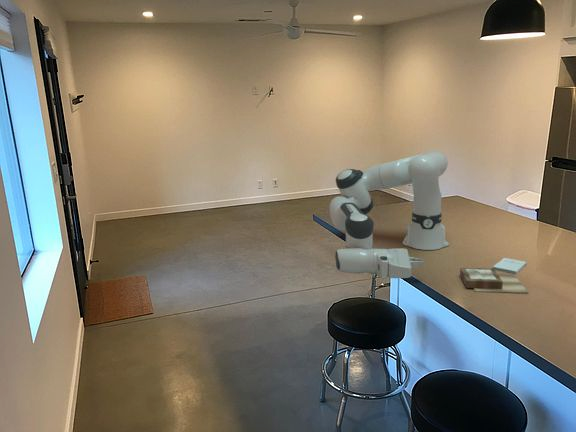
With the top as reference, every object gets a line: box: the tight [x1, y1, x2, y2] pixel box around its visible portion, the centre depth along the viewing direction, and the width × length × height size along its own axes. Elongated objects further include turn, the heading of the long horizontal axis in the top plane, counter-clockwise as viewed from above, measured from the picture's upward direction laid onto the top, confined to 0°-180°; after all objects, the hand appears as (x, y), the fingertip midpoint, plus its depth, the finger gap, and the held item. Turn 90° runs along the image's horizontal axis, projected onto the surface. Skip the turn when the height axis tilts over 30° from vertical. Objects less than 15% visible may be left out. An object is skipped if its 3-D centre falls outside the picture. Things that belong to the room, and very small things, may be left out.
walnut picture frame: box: [459, 267, 503, 289], centre depth 158 cm, size 12×3×11 cm
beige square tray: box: [472, 273, 529, 295], centre depth 157 cm, size 16×16×1 cm
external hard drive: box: [491, 257, 527, 275], centre depth 171 cm, size 2×8×12 cm
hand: (423, 262), depth 160 cm, fingers closed
